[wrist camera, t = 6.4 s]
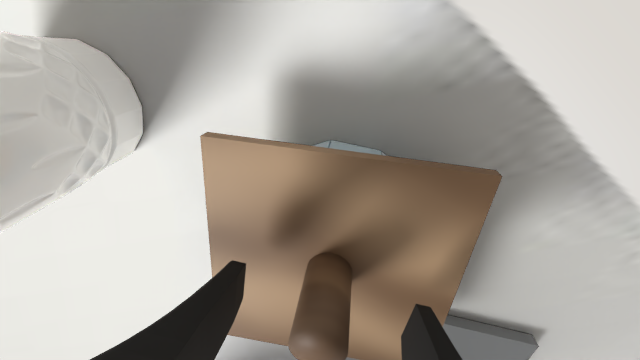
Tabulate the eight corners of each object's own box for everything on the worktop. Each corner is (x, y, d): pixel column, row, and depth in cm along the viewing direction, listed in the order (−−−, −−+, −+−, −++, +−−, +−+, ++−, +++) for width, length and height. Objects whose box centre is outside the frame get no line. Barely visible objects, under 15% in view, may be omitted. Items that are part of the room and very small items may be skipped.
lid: (423, 361, 17) (442, 464, 13) (221, 324, 18) (179, 408, 14) (495, 170, 12) (567, 239, 8) (207, 131, 13) (132, 175, 9)
